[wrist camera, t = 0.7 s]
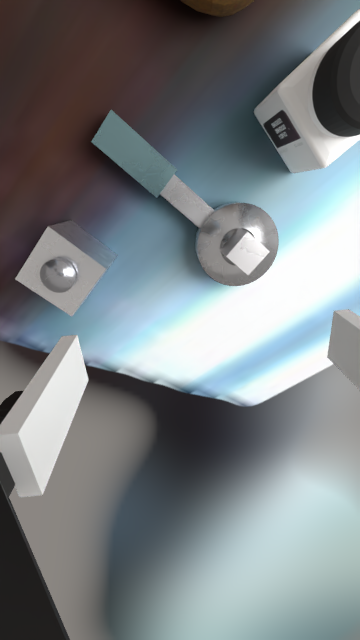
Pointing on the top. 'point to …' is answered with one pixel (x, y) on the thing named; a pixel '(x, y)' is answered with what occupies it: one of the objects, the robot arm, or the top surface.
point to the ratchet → (197, 209)
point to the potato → (218, 6)
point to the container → (317, 103)
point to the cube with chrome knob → (66, 266)
